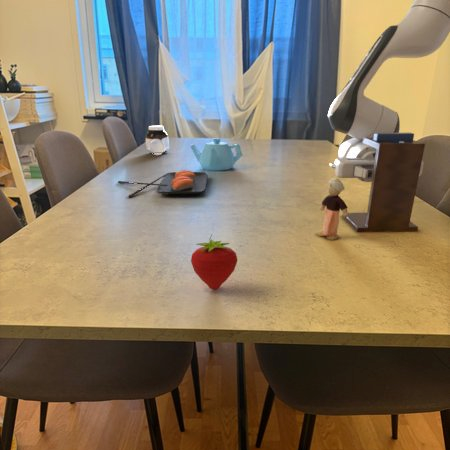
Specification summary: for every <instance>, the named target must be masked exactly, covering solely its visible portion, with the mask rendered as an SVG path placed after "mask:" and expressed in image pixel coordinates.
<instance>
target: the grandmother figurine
mask: <svg viewBox="0 0 450 450" xmlns="http://www.w3.org/2000/svg"><path fill="white" fill-rule="evenodd" d="M344 190H345V186H344V183H343V182H342V181H341V179H339V178H331V179H330V180H329V181H328V195H326V196H325V197H324V198H323V200H322V201H321V204H320V207H319V210H320V211H322V212H324V211H325V212H324V213H325V214H324V221H323V226H322V230H321V231H319V232H318V233H317V235H318V236H319V237H326V239H327V240H331V241H333V240H337V239H339V235H338V228H339V221H340V211H341V212H342V215H343V216H344V217H347V216H348V213H349V212H348V205H347V204H346V202H345V201H344V199H342V198H341V196H339V195H340V194H341V192H343V191H344Z"/></svg>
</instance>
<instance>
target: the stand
mask: <svg viewBox="0 0 450 450" xmlns="http://www.w3.org/2000/svg"><path fill="white" fill-rule="evenodd" d="M373 138H374V137H363V143H364V144H366V145H369V146H371V147H373V148H376V149H377V150H376V157H375V163H374V170H373V177H372V182H370V183H371V185H370V191H369V197H368V205H367V211H366V212H347V213H348V216H347V217H344V216H343V214H341V215H342V216H341V217H342V218H343V219H344V220H345V221H346V223H347V224H349V226H350V227H352V228H353V230H354V231H355V232H356V233H377V232H379V233H380V232H382V233H383V232H417V231H418V229H419V226H418V225H416V224H415V223H414V222H413V221H411V217H412V213H413V208H414V204H415V203H414V202H415V197H416V192H417V187H418V182H419V177H420V176H419V173H420V167H421V162H422V161H423V157H424V152H425V147H426V143H424V142H421V141H417V140H414V139H413V141H400V143H390V142H387V141H374V140H373Z"/></svg>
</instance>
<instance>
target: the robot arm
mask: <svg viewBox="0 0 450 450" xmlns="http://www.w3.org/2000/svg"><path fill="white" fill-rule="evenodd" d="M449 34H450V0H413V2H412V3H411V5H410V7H409V10H408V11H407V13H406V15H405V16H404V18H403V19H401V20H400V22H398V24H396V25H394V24H393V25H390V26H388V27H387V28H386V29H385V30H384V31H383V32H382V33H381V34H380V35H379V36H378V38H377V39H376V41H375V42H374V43H373V45H372V46H371V48H370V49H369V50H368V52H367V53H366V55H365V56H364V58H363V59H362V61H361V63H360V64H359V65H358V67H357V68H356V70H355V71H354V72H353V74H352V75H351V77H350V79H349V80H348V82H347V83H346V85H345V86H344V87H343V88H342V90H341V91H340V92H339V94H338V95H337V96H336V98H335V99H334V100H333V102H332V103H331V104H330V107H329V110H328V113H327V118H328V122H329V124H330V127H331V129H332V130H333V131H335V132H339V133H340V134H341V133H342V134H344V135H348V136H350V137H352V138H350V139H347V140H345V141H344V142H342V144H341V145H340V146H339V148H338V153H337V158H336V159H335V161H334V162H330V163H329V167H330V168H332V169H334V175H335V176H336V177H337V178H338V179H339V178H340V179H358V180H360V181H361V182H364V183H372V177H373V170H374V163H375V157H376V150H377V149H376V148H373V147H371V146H369V145H366V144H364V143H363V137H374V133H400V128H401V126H400V116H399V113H398V112H397V111H395V110H393V109H391V108H389V107H388V106H386V105H383V104H381V103H379V102H377V101H375V100H373V99H372V98H369V97H367V96H366V95H365V90H366V89H367V87H368V86H369V84H370V82H372V80H373V79H374V77H375V75H376V74H377V72H378V71H379V70H380V68H381V66H383V64H384V63H385V62H386V61H387V60H389V59H393V58H394V59H395V58H398V59H418V58H419V59H420V58H424V57H427V56H429V55H432V54H433V53H435V52H436V51H437V50H439V49H440V48H441V47H442V45H443V44H444V42H445V41H446V40H447V37H448V36H449ZM423 169H424V160H422V162H421V167H420V173H419V177H421V175H423Z"/></svg>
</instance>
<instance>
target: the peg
mask: <svg viewBox="0 0 450 450" xmlns="http://www.w3.org/2000/svg"><path fill="white" fill-rule="evenodd" d="M414 138H415V133H414V132H399V133H374V138H373V140H374V141H387V142H390V143H400V141H413V140H414Z"/></svg>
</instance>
